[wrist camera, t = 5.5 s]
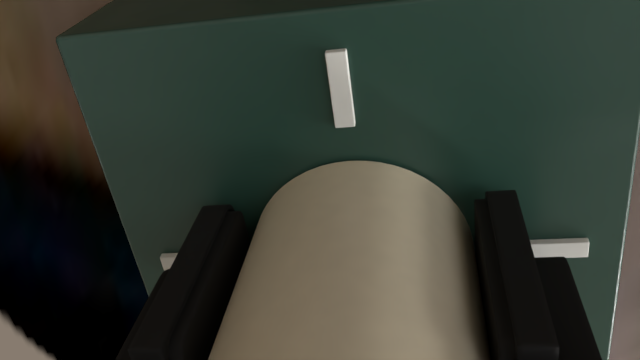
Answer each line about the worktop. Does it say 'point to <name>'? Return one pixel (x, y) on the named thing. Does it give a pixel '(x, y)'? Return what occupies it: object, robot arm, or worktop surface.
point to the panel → (369, 112)
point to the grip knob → (357, 273)
